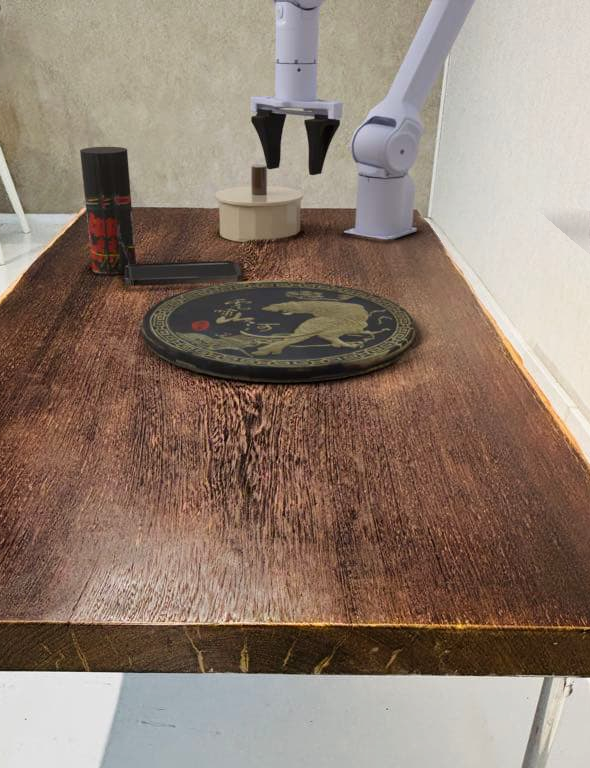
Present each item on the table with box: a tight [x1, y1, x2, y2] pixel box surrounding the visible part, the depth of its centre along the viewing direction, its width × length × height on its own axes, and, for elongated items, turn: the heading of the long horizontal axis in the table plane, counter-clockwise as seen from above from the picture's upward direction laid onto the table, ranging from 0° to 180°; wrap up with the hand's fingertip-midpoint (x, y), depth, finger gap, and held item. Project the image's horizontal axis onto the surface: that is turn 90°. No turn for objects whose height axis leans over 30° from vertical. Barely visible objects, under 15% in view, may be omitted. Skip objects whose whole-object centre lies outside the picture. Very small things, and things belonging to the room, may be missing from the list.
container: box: [217, 200, 302, 243], centre depth 134 cm, size 13×13×5 cm
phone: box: [124, 260, 243, 287], centre depth 113 cm, size 8×1×15 cm
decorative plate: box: [141, 280, 416, 384], centre depth 94 cm, size 30×2×30 cm
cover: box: [214, 164, 304, 206], centre depth 131 cm, size 14×14×5 cm
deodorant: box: [79, 146, 137, 276], centre depth 113 cm, size 6×6×15 cm
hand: (293, 171), depth 123 cm, fingers open, 7 cm apart
